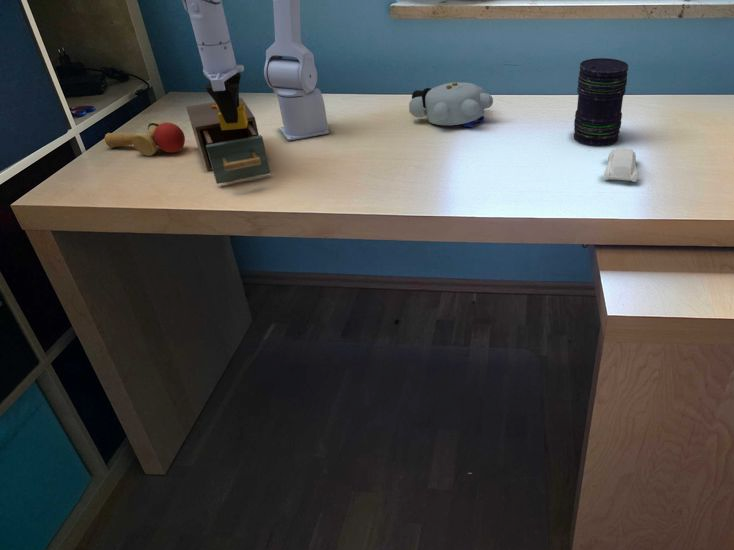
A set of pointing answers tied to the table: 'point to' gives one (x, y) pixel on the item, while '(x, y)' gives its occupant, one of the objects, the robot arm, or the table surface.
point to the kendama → (150, 138)
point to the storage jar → (600, 101)
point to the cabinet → (210, 124)
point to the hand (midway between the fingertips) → (233, 119)
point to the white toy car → (621, 165)
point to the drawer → (235, 153)
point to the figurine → (451, 104)
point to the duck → (229, 126)
